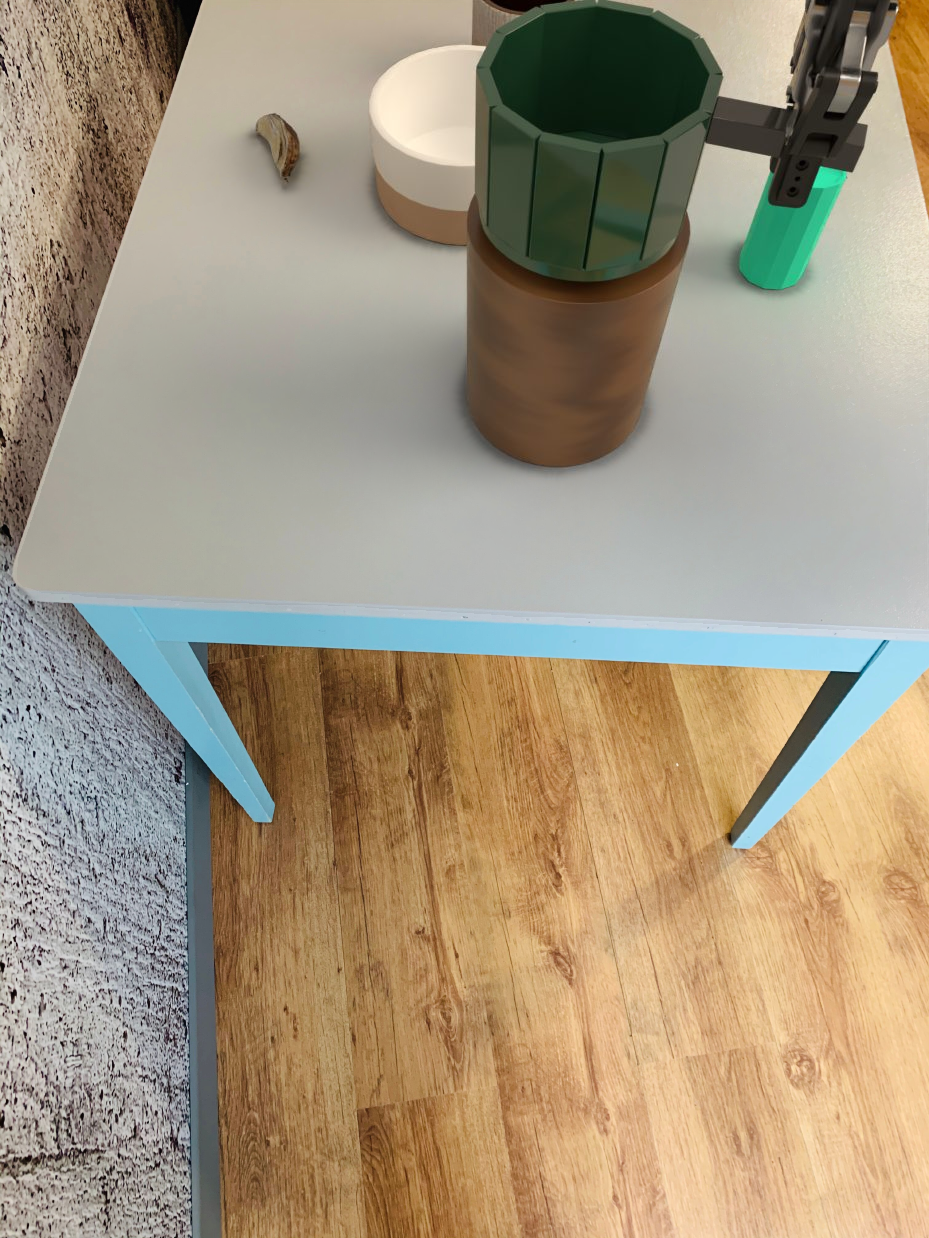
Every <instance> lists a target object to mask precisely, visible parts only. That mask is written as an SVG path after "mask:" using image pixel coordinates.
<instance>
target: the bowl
mask: <svg viewBox="0 0 929 1238" xmlns="http://www.w3.org/2000/svg"><path fill="white" fill-rule="evenodd" d="M485 48H486V47H485V46H474V45H472V44H459V45H458V44H456V45H455V44H453V45H452V44H451V45H444V46H438V47H433V48H432V47H431V48H428V49H425V50H422V51H419V52H415V53H413V54H411V55H409V56H406V57H404V58H402V59H401V60H399V61H397V62H396V63H394V64H393V65H392V66H390V67H389V68H388V69H386V71H384V73H383V74H382V75H381V76H380V77H379V78H378V79H377V81H376V82H375V85H374V86H373V88H372V89H371V92H370V93H371V94H370V97H369V101H368V118H369V127H370V137H371V145H372V155H373V162H374V171H375V180H376V189H377V195H378V197H379V201H380V204H381V205H382V208H383V209H384V210H385V211H386V214H388V216H389V217H390V218H391V220H393V221H394V222H395V223H396V224H397V225H398V226H400V227H401V228H403V229H405V230H406V231H408V232H409V233H411V234H413V235H416V236H418V237H420V238H422V239H425V240H427V241H431V242H436V243H440V244H445V245H454V246H455V245H456V246H457V245H458V246H467V215H468V209H469V206H470V202H471V200H472V198H473V196H474V194H475V103H476V66H477V64H478V62H479V60H480V58H481V56H482V54H483V52H484V50H485Z"/></svg>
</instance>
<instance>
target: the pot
mask: <svg viewBox="0 0 929 1238" xmlns="http://www.w3.org/2000/svg"><path fill="white" fill-rule="evenodd" d="M723 80H724V73H723V70H722V68H721V67H720V65H719V63H718V61H717V59H716V58H715V56H714V54H713V52H712V51H711V48H710V47H709V45H708V43H707V41H706V39H705V38H704V37H701V34H700V33H698V32H697V31H694V30H693V29H692V28H690V27H688V26H686V25H684V24H683V23H682V22H680V21H677V20H676V19H674V18H672V17H671V16H669V15H667V14H666V13H664V12H662V11H661V10H659V9H657V10H655V9H654V8H653V7H650V6H649V7H648V6H642V5H637V4H632V3H627V2H621V1H615V0H597V1H596V0H579V1H571V2H564V3H556V4H549V5H542V6H541V7H540V8H538V7H535V8H533V9H532V10H530V11H528V12H526V13H524V14H523V15H521V16H519V17H517V18H515V19H514V20H512V21H510V22H508V23H507V24H505V25H503V26H501V27H499V28H498V29H496V33H495V32H494V33H493V34H492V36H491V38H490V40H489V42H488V44H487V46H486V48H485V50H484V52H483V54H482V56H481V58H480V60H479V62H478V64H477V66H476V103H475V194H476V197H477V200H478V202H477V203H478V215H479V219H480V223H481V225H482V227H483V230H484V232H485V233H486V235H487V237H488V238H489V240H490V241H491V242H492V243H493V245H494V246H495V247H496V248H497V249H498V250H499V251H500V252H501V253H503V254H504V255H505V256H506V257H508V258H509V259H510V260H512V261H513V262H515V263H516V264H518V265H520V266H522V267H524V268H526V269H528V270H530V271H533V272H536V273H538V274H541V275H544V276H548V277H552V278H556V279H562V280H567V281H579V282H595V281H604V280H612V279H616V278H621V277H625V276H628V275H631V274H634V273H636V272H638V271H641V270H643V269H645V268H647V267H649V266H650V265H652V264H653V263H655V262H657V261H658V260H659V259H660V258H661V257H663V256H664V255H665V254H666V253H667V252H668V251H669V250H670V248H671V247H672V246H673V245H674V243H675V242H676V240H677V238H678V237H679V234H680V232H681V229H682V226H683V223H684V219H685V215H686V212H687V213H688V209H689V205H690V202H691V198H692V194H693V191H694V187H695V183H696V180H697V176H698V173H699V169H700V165H701V161H702V158H703V154H704V151H705V147H706V144H708V145H712V146H716V147H723V148H726V149H727V148H728V149H731V150H732V149H733V150H736V151H737V150H738V151H741V152H747V153H751V154H757V155H760V156H761V155H762V156H767V157H770V158H771V157H776V158H779V157H780V154H781V151H782V148H783V145H784V142H785V138H784V133H785V130H786V127H788V126H789V123H790V119H791V116H792V113H793V110H789V109H786V108H783V107H779V106H775V105H774V106H772V105H767V104H764V103H758V102H753V101H748V100H743V99H737V98H733V97H732V98H731V97H728V96H727V97H726V96H722V95H720V92H721V89H722V88H721V87H722V84H723ZM868 127H869V125H868V124H866V123H862V122H861V123H860V122H857V124H856V125H855V127H854V129H853V130H852V132H851V134H850V136H849V137H848V139H847V141H846V142H845V144H844V146H843V147H842V149H841V151H840V152H839V154H838V156H837V157H836V159H829V158H823V161H822V163H821V167H826V168H831V169H836V170H841V171H845V172H847V173H851V174H852V173H854V171H855V169H856V167H857V165H858V162H859V160H860V158H861V155H862V154H863V151H864V149H865V144H866V139H867V133H868Z"/></svg>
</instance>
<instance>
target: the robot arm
mask: <svg viewBox="0 0 929 1238" xmlns="http://www.w3.org/2000/svg"><path fill="white" fill-rule="evenodd" d="M899 3H900V2H899V1H898V0H805V1H804V12H803V15H802V18H801V21H800V24H799V27H798V30H797V33H796V36H795V39H794V42H793V48H792V56H791V58H790V61H789V67H790V72H789V74H790V75H792V77H791V81H790V83H789V84H788V85H787V86H786V91H785V96H786V99H785V100H786V101H785V103H786V104H787V105H786V108H785V109H789V110H793V113H792V116H791V119H790V123H789V126H788V127H786V130H785V133H784V138H785V142H784V145H783V148H782V151H781V154H780V157H779V158H776V157H771V156H770V157H769V172H770V171H771V172H772V173H773V174H774V175H773V178H772V181H771V184H770V187H769V191H768V202H769V203H770V204H771V205H773V206H780V207H789V208H801V207H803V206H804V205H805V204H806V203H807V200H808V198H809V195H810V192H811V190H812V187H813V184H814V182H815V179H816V176H817V174H818V171H819V169H820V166H821V163H822V161H823V158H829V159H836V157H837V156H838V154H839V152H840V151H841V149H842V147H843V146H844V144H845V142H846V141H847V139H848V137H849V136H850V134H851V132H852V130H853V129H854V127H855V125H856V124H857V123H859V120H860V119H861V117H862V115H864V114H863V113H864V112H865V110H866V109H867V107H868V105H869V103H870V102H871V100H872V98H873V96H874V95H875V94H876V92H877V90H878V87H879V72H878V71H874V70H873V71H872V68H873V65H874V64H875V60H876V57H877V55H878V52H879V50H880V49H881V48H882V47H883V46H885V45H886V43H887V42H888V39H889V37H890V34H891V31H892V29H893V26H894V24H895V21H896V18H897V14H898V11H899V7H900V6H899ZM789 104H790V105H789Z"/></svg>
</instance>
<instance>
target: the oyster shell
mask: <svg viewBox="0 0 929 1238" xmlns="http://www.w3.org/2000/svg"><path fill="white" fill-rule="evenodd" d="M254 133H255V134H256V135H258V136H262V137H263V138H264V139H265V140H266V141H267V142H268V143H269V147H270V150H271V156H272V159H273V163H274V164H275V165H276V167H277V169H278V171H279V178H280V179H281V180H284V181H285V182H286V183H287V184H288V183H289V179H288V177H291V173H292V172H293V170H294V169H295V167H296V165H297V162H298V161H299V158H300V157H299V156H300V151H301V145H300V138H299V136H298V133H297V131H296V130H295V129H294V128H293V127H292V126H291V124H289V123H288V122H287V121H286V120H285V119H284V118H283V117H281V115H279V114H277V113H275V112H274V113H269V114H266V115H263V116H260V117H259V118H258V119H257V121H256V122H255V130H254Z"/></svg>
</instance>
